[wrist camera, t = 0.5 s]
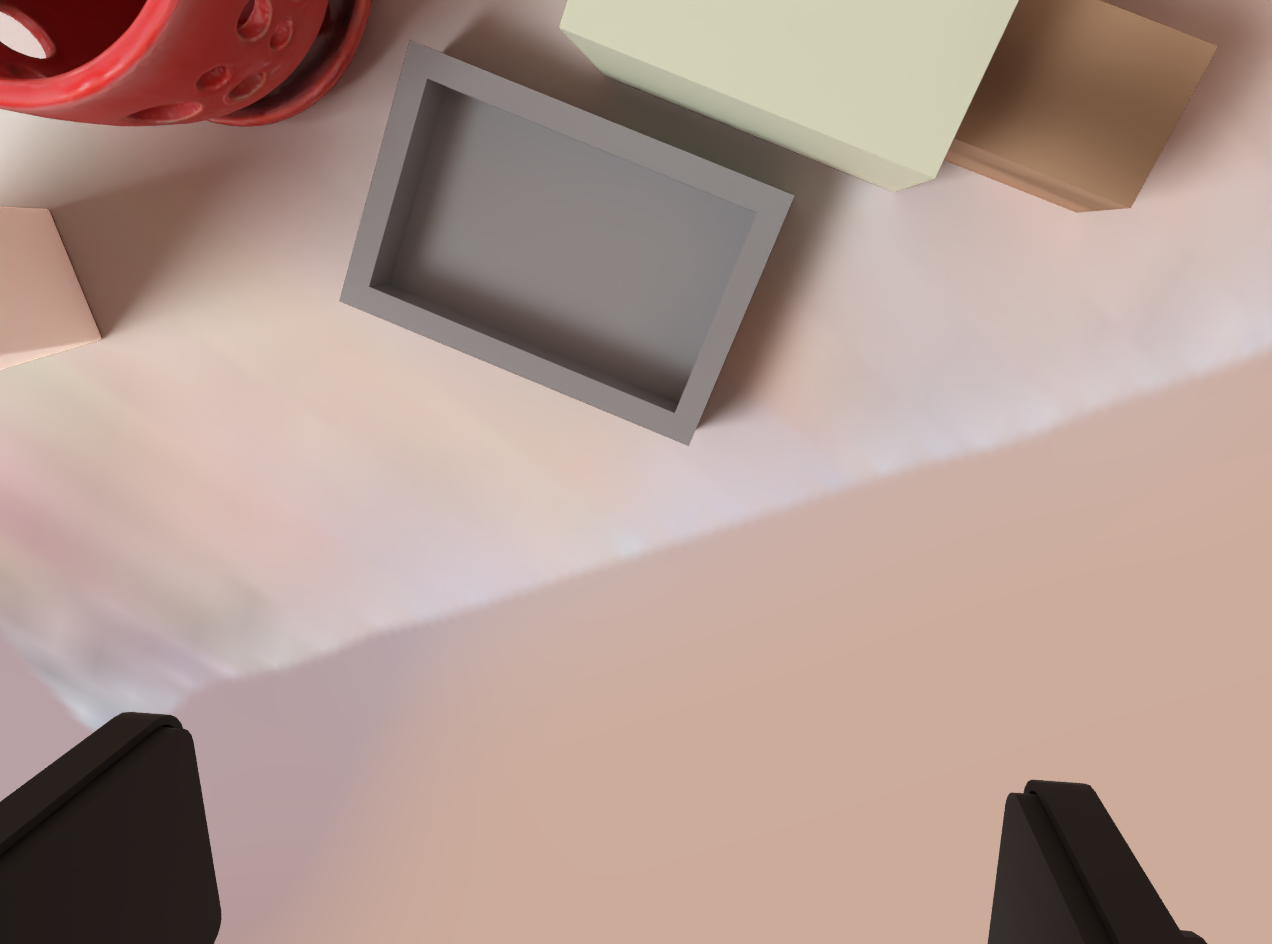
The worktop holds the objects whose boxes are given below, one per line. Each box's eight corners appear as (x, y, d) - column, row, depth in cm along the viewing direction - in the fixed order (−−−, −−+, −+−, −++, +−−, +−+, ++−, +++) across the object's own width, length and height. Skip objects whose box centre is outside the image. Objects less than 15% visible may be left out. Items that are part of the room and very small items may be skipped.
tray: (437, 56, 33) (409, 39, 31) (791, 198, 33) (794, 195, 30) (370, 296, 36) (339, 301, 34) (694, 430, 36) (688, 445, 33)
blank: (885, -25, 31) (909, -74, 26) (1145, 76, 30) (1218, 45, 26) (827, 114, 32) (839, 93, 27) (1074, 212, 32) (1130, 208, 27)
